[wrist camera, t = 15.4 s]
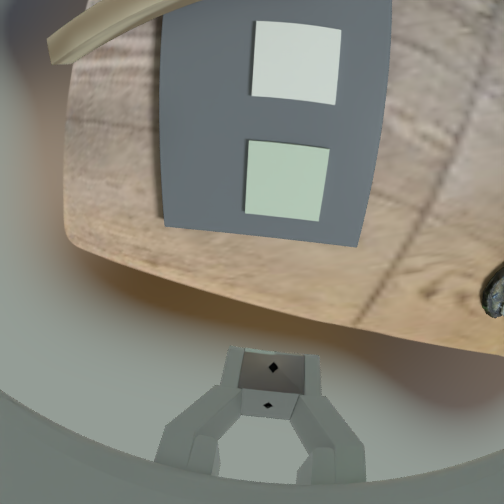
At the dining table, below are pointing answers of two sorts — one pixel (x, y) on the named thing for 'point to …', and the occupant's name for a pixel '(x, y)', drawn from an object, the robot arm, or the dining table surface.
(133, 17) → the swing arm
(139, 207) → the dining table surface
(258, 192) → the label board
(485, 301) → the grey rough oval rock
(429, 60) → the dining table surface
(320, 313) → the dining table surface
